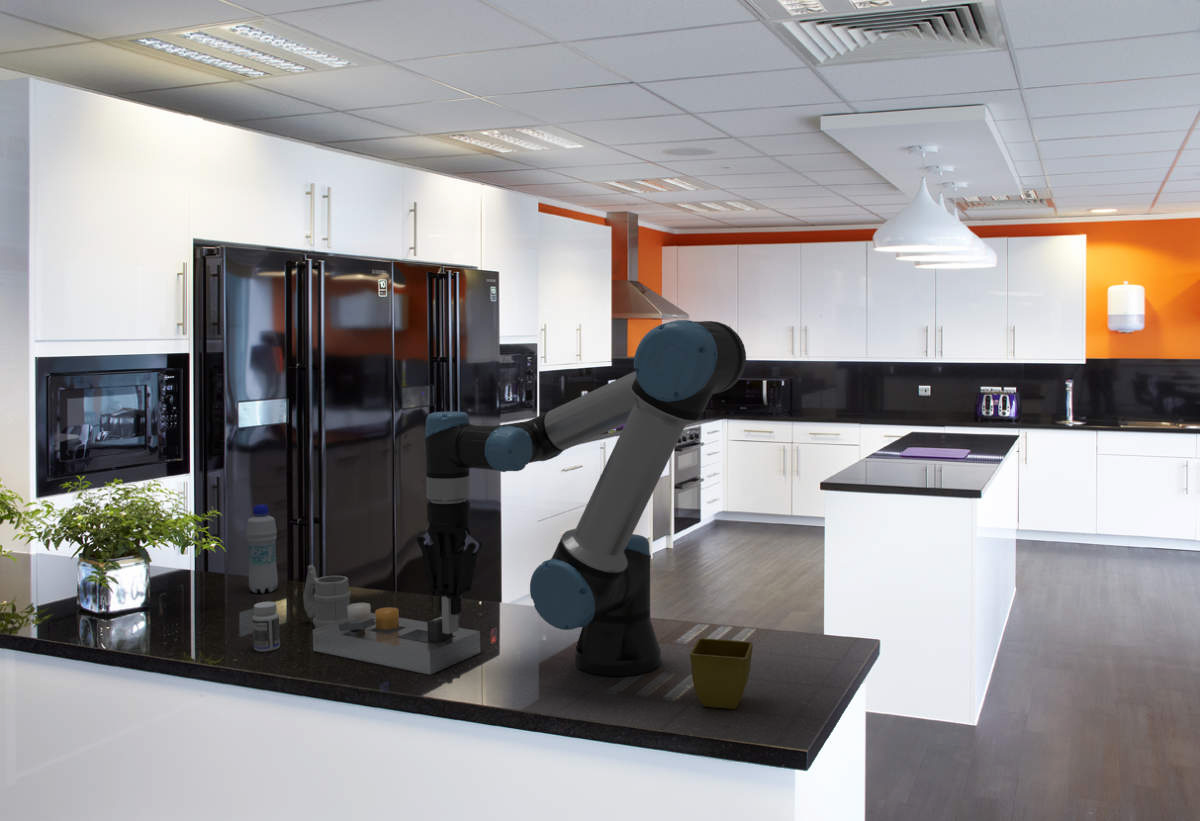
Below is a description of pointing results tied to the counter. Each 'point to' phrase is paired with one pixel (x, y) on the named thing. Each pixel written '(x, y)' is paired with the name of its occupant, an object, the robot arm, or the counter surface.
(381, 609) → the orange button
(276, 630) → the pill bottle
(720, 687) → the flower pot
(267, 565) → the bottle
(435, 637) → the slider knob
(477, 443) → the robot arm
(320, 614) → the mug
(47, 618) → the counter surface
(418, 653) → the panel
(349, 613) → the cream button
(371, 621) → the block
